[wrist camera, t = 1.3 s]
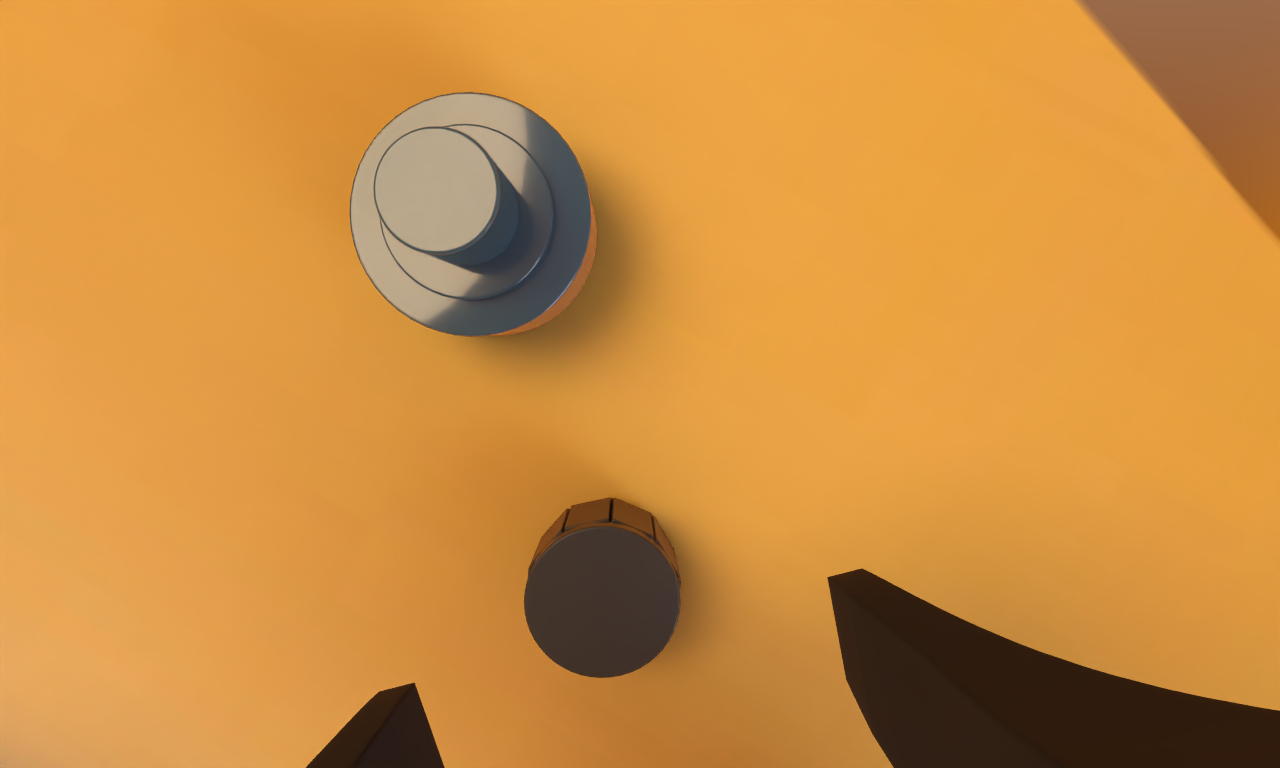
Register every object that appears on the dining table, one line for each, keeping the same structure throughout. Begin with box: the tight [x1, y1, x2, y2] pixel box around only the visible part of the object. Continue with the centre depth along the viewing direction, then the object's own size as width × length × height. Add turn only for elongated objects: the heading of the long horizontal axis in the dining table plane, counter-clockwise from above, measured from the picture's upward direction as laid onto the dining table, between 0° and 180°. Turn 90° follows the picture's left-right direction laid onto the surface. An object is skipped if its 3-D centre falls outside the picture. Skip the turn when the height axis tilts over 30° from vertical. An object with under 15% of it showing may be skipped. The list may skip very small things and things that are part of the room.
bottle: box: [350, 92, 597, 337], centre depth 17 cm, size 6×6×6 cm
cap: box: [524, 498, 681, 678], centre depth 20 cm, size 4×4×3 cm
